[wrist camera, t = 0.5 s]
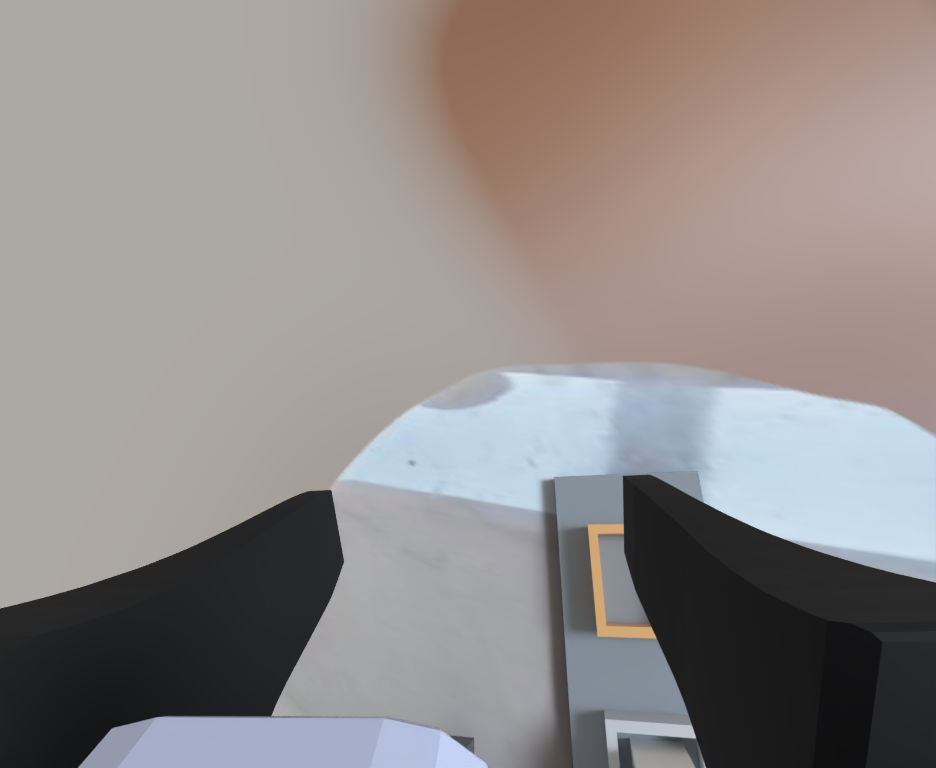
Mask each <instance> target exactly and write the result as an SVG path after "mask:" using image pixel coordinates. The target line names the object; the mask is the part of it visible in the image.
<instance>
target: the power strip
mask: <svg viewBox="0 0 936 768" xmlns="http://www.w3.org/2000/svg"><path fill="white" fill-rule="evenodd" d="M648 474H649V475H652V476H655V477H657V478H659V479H661V480H663V481H665V482H666V483H668V484H670V485H672V486H674V487H676V488H677V489H679V490H681V491H683V492H685V493H686V494H688V495H690V496H692V497H694V498H696V499H697V500H699V501H701V502H703V498H702V492H701V487H700V481H699V475H698V471H689V472H665V473H641V474H617V475H593V476H569V477H554V481H555V496H556V512H557V527H558V542H559V558H560V573H561V588H562V604H563V619H564V634H565V650H566V665H567V680H568V696H569V711H570V726H571V742H572V757H573V768H706V766H705V763H704V760H703V757H702V754H701V751H700V748H699V745H698V742H697V739H696V736H695V733H694V730H693V727H692V724H691V721H690V718H689V715H688V712H687V709H686V706H685V703H684V701H683V698H682V696H681V693H680V691H679V688H678V686H677V683H676V681H675V678H674V676H673V674H672V672H671V669H670V667H669V665H668V663H667V661H666V658H665V656H664V654H663V652H662V649H661V647H660V645H659V643H658V640H657V638H656V636H655V634H654V632H653V629H652V627H651V625H650V623H649V620H648V618H647V616H646V614H645V611H644V609H643V607H642V605H641V602H640V600H639V598H638V595H637V593H636V591H635V588H634V584H633V581H632V578H631V575H630V571H629V568H628V564H627V561H626V557H625V554H624V518H623V476H628V475H648Z"/></svg>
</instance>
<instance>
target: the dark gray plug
mask: <svg viewBox="0 0 936 768" xmlns="http://www.w3.org/2000/svg"><path fill="white" fill-rule="evenodd" d="M450 737H452V738H453V739H454V740H456V741H457V742H459V743H460V744H461V745H463V746H464V747H465V748H467V749H468V750H469V751H471V752H472V753H473V754H474V738H468V737H457V736H450Z"/></svg>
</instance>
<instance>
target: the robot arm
mask: <svg viewBox="0 0 936 768" xmlns="http://www.w3.org/2000/svg"><path fill="white" fill-rule="evenodd" d="M623 518H624V554H625V557H626V561H627V564H628V568H629V571H630V575H631V578H632V581H633V584H634V588H635V591H636V593H637V595H638V598H639V600H640V602H641V605H642V607H643V609H644V611H645V614H646V616H647V618H648V620H649V623H650V625H651V627H652V629H653V632H654V634H655V636H656V638H657V640H658V643H659V645H660V647H661V649H662V652H663V654H664V656H665V658H666V661H667V663H668V665H669V667H670V669H671V672H672V674H673V676H674V678H675V681H676V683H677V686H678V688H679V691H680V693H681V696H682V698H683V701H684V703H685V706H686V709H687V712H688V715H689V718H690V721H691V724H692V727H693V730H694V733H695V736H696V739H697V742H698V745H699V748H700V751H701V754H702V757H703V760H704V763H705V766H706V768H936V583H935V582H930V581H926V580H922V579H917V578H913V577H908V576H904V575H900V574H895V573H891V572H887V571H884V570H880V569H876V568H872V567H868V566H864V565H861V564H858V563H854V562H851V561H847V560H844V559H841V558H837V557H834V556H831V555H827V554H824V553H821V552H818V551H815V550H812V549H809V548H806V547H803V546H800V545H798V544H795V543H792V542H790V541H787V540H784V539H782V538H779V537H777V536H774V535H771V534H769V533H766V532H764V531H762V530H759V529H757V528H754V527H752V526H750V525H748V524H746V523H744V522H741V521H739V520H737V519H735V518H733V517H731V516H729V515H726V514H724V513H722V512H720V511H718V510H716V509H714V508H713V507H711V506H709V505H707V504H705V503H703V502H701V501H699V500H697V499H696V498H694V497H692V496H690V495H688V494H686V493H685V492H683V491H681V490H679V489H677V488H676V487H674V486H672V485H670V484H668V483H666V482H665V481H663V480H661V479H659V478H657V477H655V476H652V475H649V474H648V475H628V476H623ZM343 563H344V559H343V553H342V548H341V542H340V536H339V531H338V525H337V519H336V514H335V508H334V502H333V497H332V491H331V490H324V491H308V492H305V493H302V494H299V495H297V496H295V497H292V498H290V499H288V500H286V501H284V502H282V503H280V504H278V505H276V506H274V507H272V508H270V509H268V510H266V511H264V512H262V513H260V514H258V515H256V516H254V517H252V518H250V519H248V520H246V521H244V522H243V523H241V524H239V525H237V526H235V527H232V528H230V529H228V530H226V531H224V532H222V533H220V534H218V535H216V536H214V537H212V538H210V539H207V540H205V541H203V542H201V543H199V544H197V545H195V546H193V547H190V548H188V549H186V550H183V551H181V552H179V553H176V554H174V555H172V556H169V557H167V558H164V559H161V560H159V561H156V562H154V563H151V564H149V565H146V566H143V567H141V568H138V569H135V570H132V571H129V572H126V573H123V574H120V575H117V576H114V577H111V578H108V579H105V580H102V581H99V582H96V583H93V584H90V585H87V586H84V587H81V588H77V589H74V590H70V591H66V592H63V593H59V594H56V595H52V596H49V597H45V598H41V599H37V600H33V601H29V602H25V603H21V604H18V605H14V606H9V607H5V608H1V609H0V768H488V767H487V765H486V763H485V762H483V761H482V760H481V759H480V758H479V757H478V756H476V755H475V754H473V753H472V752H471V751H469V750H468V749H467V748H465V747H464V746H463V745H461V744H460V743H459V742H457V741H456V740H454V739H453V738H452V737H450V736H449V735H448V734H446V733H445V732H444V731H442V730H441V729H439V728H438V727H433V726H428V725H424V724H419V723H414V722H410V721H405V720H401V719H396V718H391V717H310V716H271V715H272V713H273V710H274V708H275V706H276V703H277V701H278V699H279V697H280V695H281V693H282V691H283V689H284V686H285V684H286V682H287V680H288V678H289V677H290V675H291V673H292V671H293V669H294V667H295V665H296V663H297V662H298V660H299V658H300V656H301V654H302V652H303V650H304V648H305V647H306V645H307V643H308V641H309V639H310V637H311V635H312V633H313V632H314V630H315V628H316V626H317V624H318V622H319V620H320V618H321V616H322V614H323V612H324V611H325V609H326V607H327V605H328V603H329V601H330V599H331V597H332V594H333V591H334V589H335V586H336V583H337V581H338V578H339V575H340V572H341V569H342V566H343Z"/></svg>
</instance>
